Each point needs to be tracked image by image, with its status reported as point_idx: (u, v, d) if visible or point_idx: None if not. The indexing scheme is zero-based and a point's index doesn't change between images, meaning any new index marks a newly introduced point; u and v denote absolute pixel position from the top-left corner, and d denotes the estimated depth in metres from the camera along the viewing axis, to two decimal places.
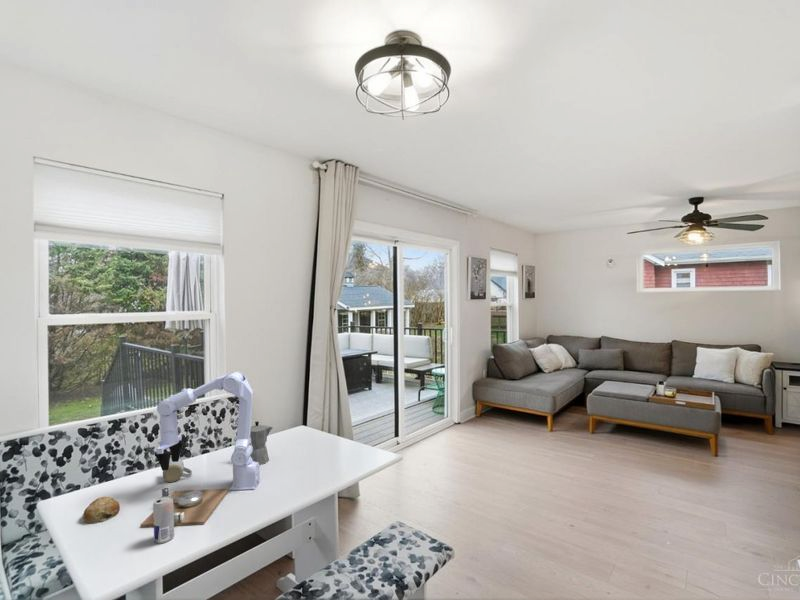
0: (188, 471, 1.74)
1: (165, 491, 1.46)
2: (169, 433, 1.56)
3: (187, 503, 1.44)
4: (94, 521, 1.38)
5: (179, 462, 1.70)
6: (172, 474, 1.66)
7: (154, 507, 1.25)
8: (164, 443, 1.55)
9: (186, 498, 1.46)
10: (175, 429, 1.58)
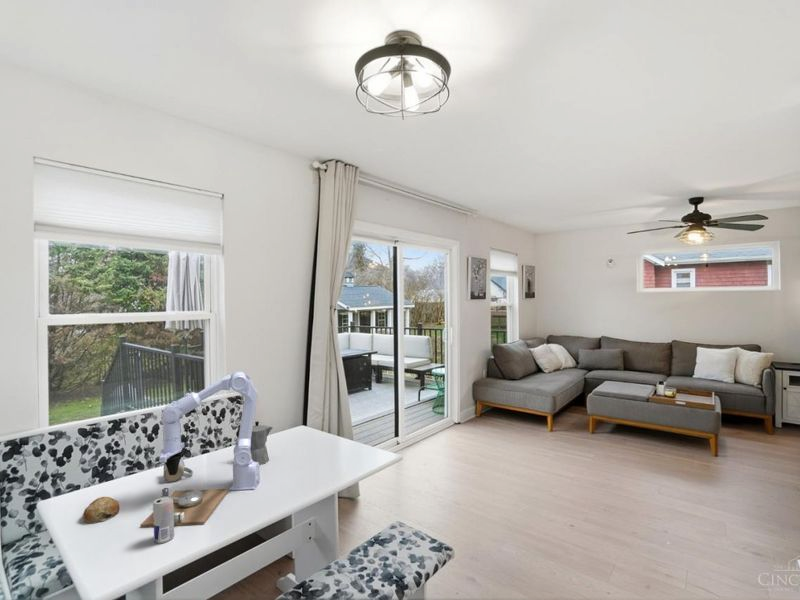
0: (189, 471, 1.74)
1: (165, 491, 1.46)
2: (172, 441, 1.51)
3: (187, 503, 1.44)
4: (94, 521, 1.38)
5: (180, 462, 1.70)
6: None
7: (154, 507, 1.25)
8: (167, 451, 1.50)
9: (186, 498, 1.46)
10: (179, 436, 1.53)
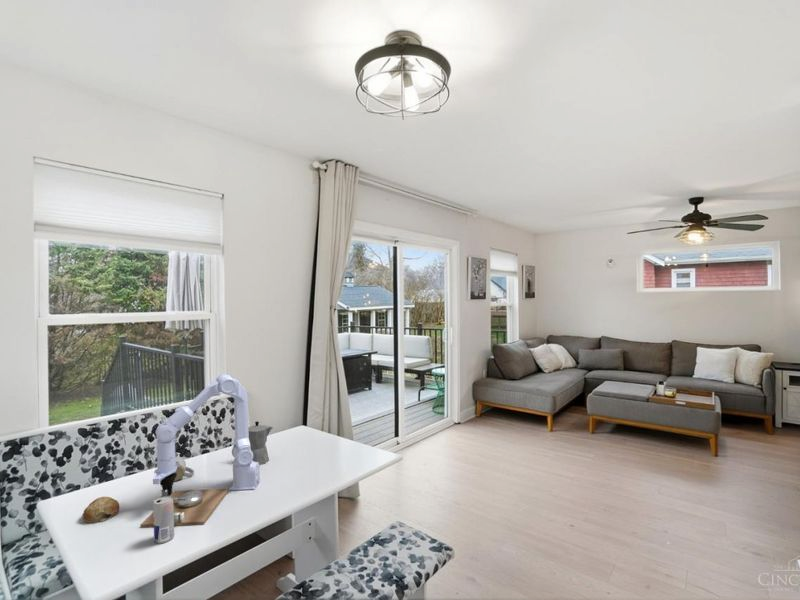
0: (190, 471, 1.75)
1: (165, 491, 1.46)
2: (166, 461, 1.46)
3: (187, 503, 1.44)
4: (94, 521, 1.38)
5: (181, 462, 1.71)
6: None
7: (154, 507, 1.25)
8: (161, 472, 1.46)
9: (186, 498, 1.46)
10: (174, 455, 1.49)
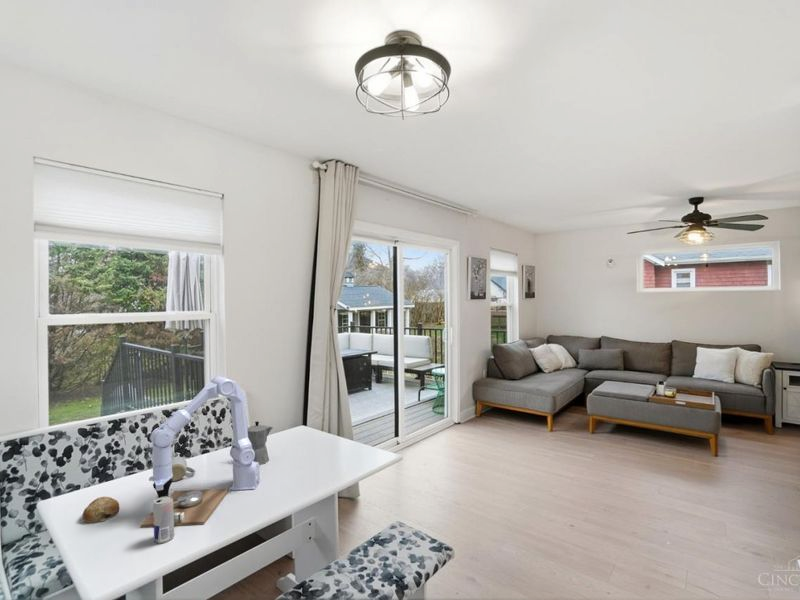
0: (191, 470, 1.75)
1: None
2: (165, 466, 1.41)
3: (195, 501, 1.45)
4: (94, 521, 1.38)
5: (182, 462, 1.71)
6: (175, 474, 1.67)
7: (154, 507, 1.25)
8: (160, 478, 1.40)
9: (188, 498, 1.46)
10: (171, 460, 1.44)
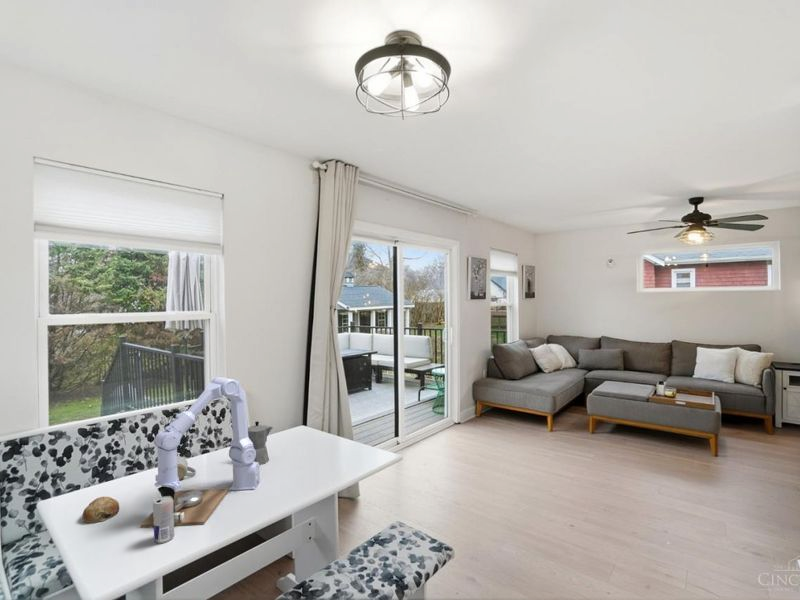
0: (192, 470, 1.75)
1: (174, 500, 1.40)
2: (175, 468, 1.40)
3: (201, 498, 1.47)
4: (93, 521, 1.38)
5: (183, 462, 1.71)
6: None
7: (154, 507, 1.25)
8: (170, 481, 1.38)
9: (191, 497, 1.47)
10: None
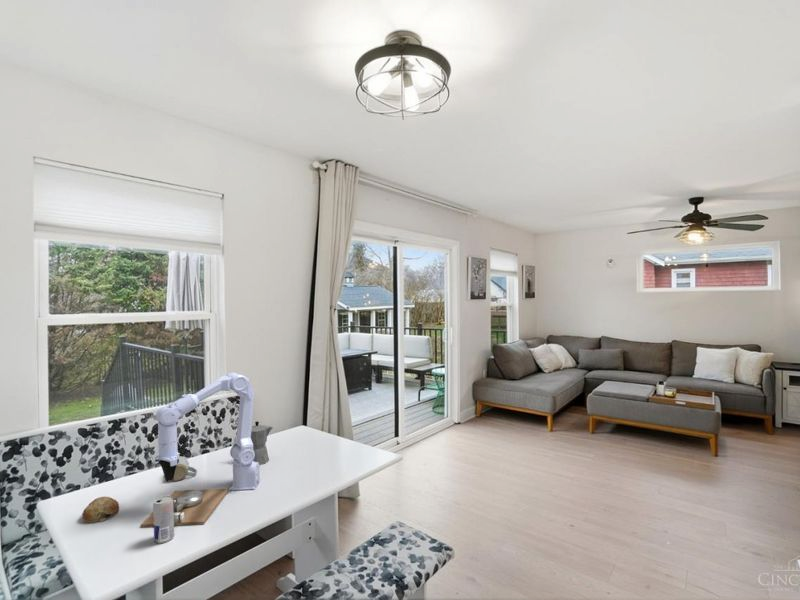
0: (193, 470, 1.75)
1: (176, 500, 1.40)
2: (174, 443, 1.44)
3: (201, 497, 1.48)
4: (93, 521, 1.38)
5: (184, 461, 1.71)
6: (177, 473, 1.67)
7: (154, 507, 1.25)
8: (169, 455, 1.43)
9: (192, 497, 1.47)
10: None
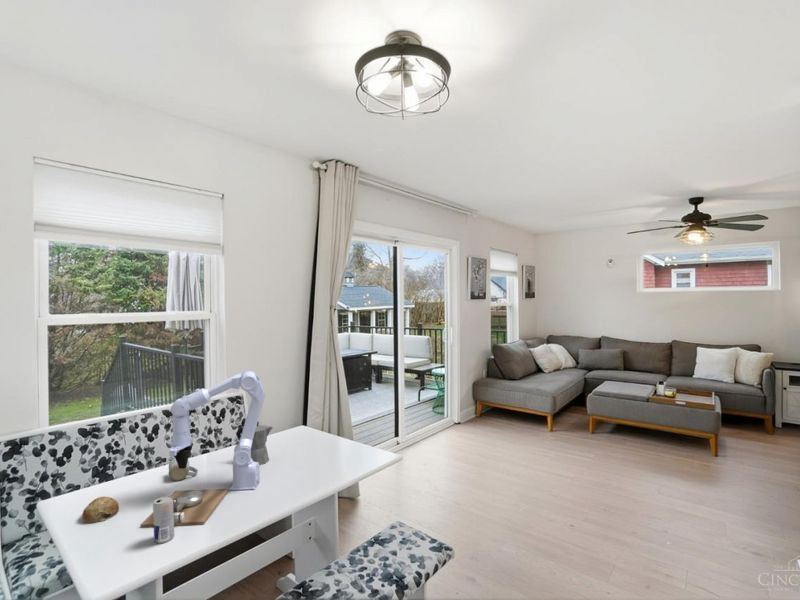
0: (194, 470, 1.75)
1: (176, 500, 1.40)
2: (182, 435, 1.53)
3: (201, 497, 1.48)
4: (93, 521, 1.38)
5: None
6: (178, 473, 1.67)
7: (154, 507, 1.25)
8: (177, 445, 1.52)
9: (192, 497, 1.47)
10: (188, 430, 1.55)
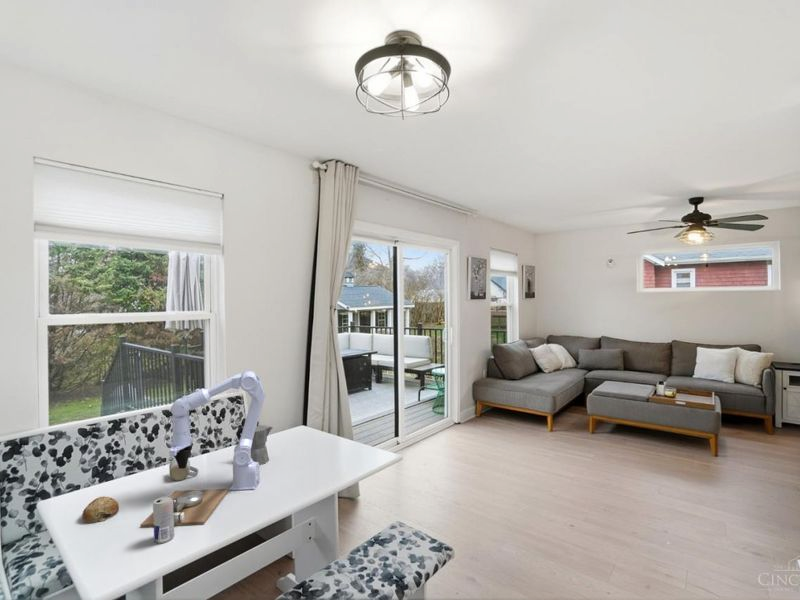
0: (194, 470, 1.75)
1: (176, 500, 1.40)
2: (182, 435, 1.53)
3: (201, 497, 1.48)
4: (93, 521, 1.38)
5: None
6: (179, 473, 1.68)
7: (154, 507, 1.25)
8: (177, 445, 1.52)
9: (192, 497, 1.47)
10: (188, 430, 1.55)
